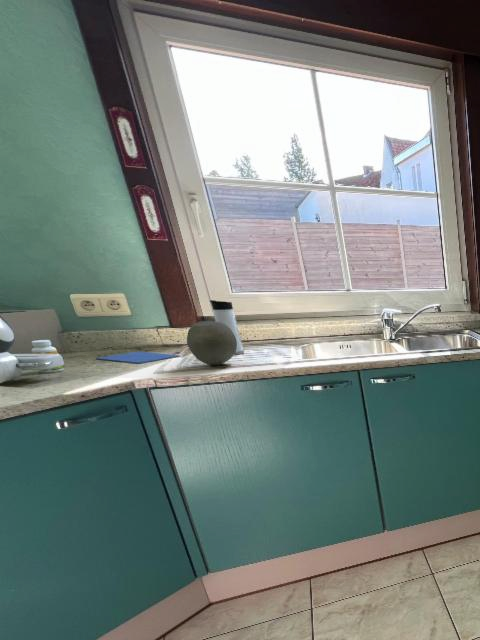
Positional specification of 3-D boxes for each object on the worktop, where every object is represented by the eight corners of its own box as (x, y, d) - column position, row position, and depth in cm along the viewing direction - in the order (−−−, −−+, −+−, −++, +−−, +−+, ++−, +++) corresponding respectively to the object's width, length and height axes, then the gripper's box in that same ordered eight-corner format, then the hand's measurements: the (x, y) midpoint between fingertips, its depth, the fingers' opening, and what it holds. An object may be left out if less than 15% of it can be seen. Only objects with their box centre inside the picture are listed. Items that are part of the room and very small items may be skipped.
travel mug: (219, 354, 187) (205, 300, 180) (236, 351, 193) (223, 298, 185) (230, 355, 185) (216, 301, 178) (247, 353, 191) (235, 299, 183)
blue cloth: (96, 359, 173) (95, 358, 173) (139, 352, 186) (139, 351, 186) (139, 363, 169) (138, 362, 169) (180, 356, 182) (180, 355, 182)
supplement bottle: (38, 373, 153) (25, 342, 149) (42, 370, 157) (30, 340, 153) (62, 371, 156) (50, 341, 152) (65, 368, 160) (54, 339, 156)
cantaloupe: (182, 368, 165) (168, 322, 159) (217, 359, 178) (206, 317, 172) (220, 370, 164) (208, 324, 158) (252, 362, 177) (242, 319, 171)
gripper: (38, 354, 140) (73, 345, 152) (-53, 355, 135) (-9, 346, 148) (46, 376, 142) (81, 365, 155) (-43, 377, 138) (0, 367, 150)
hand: (36, 356), depth 151 cm, fingers open, 8 cm apart
